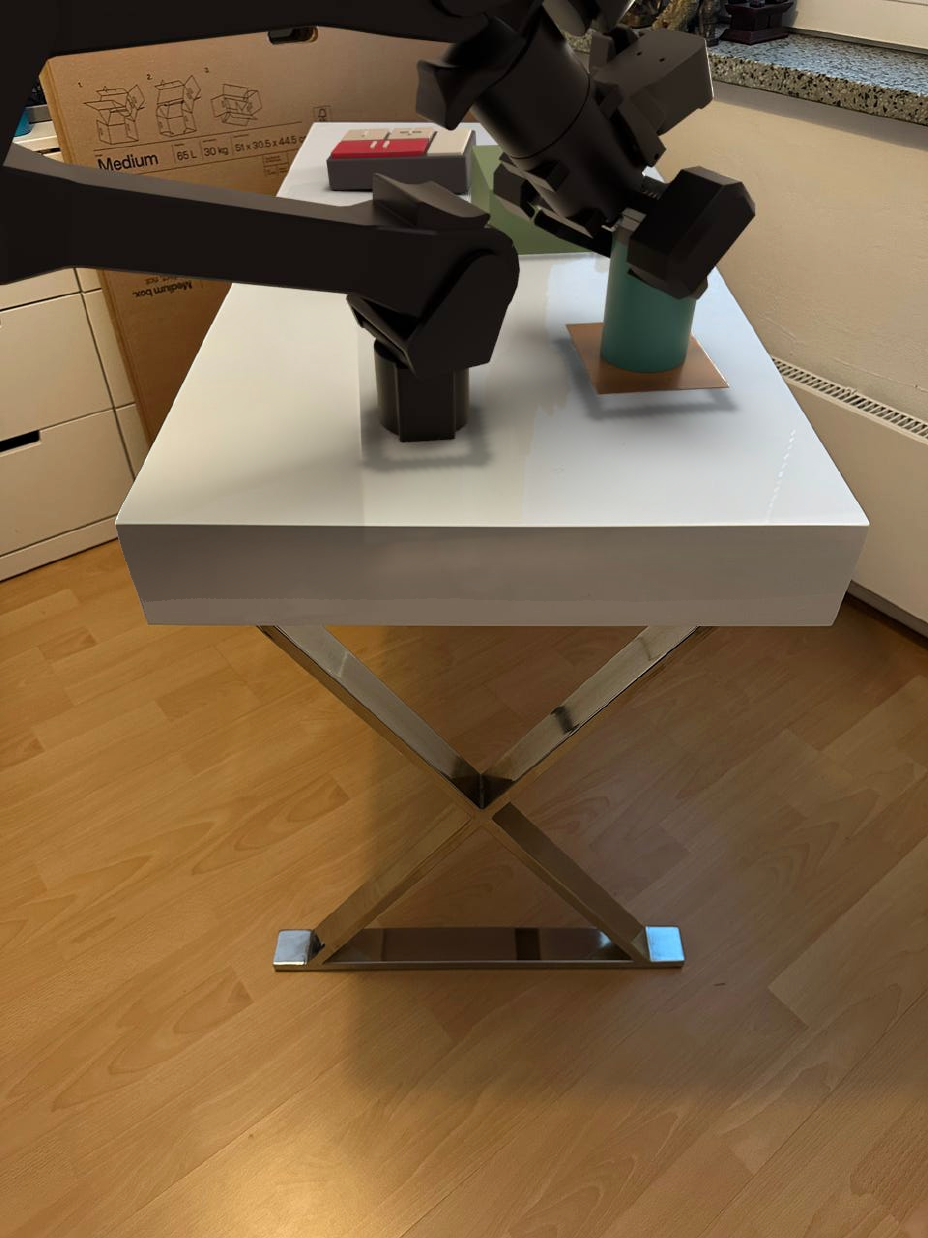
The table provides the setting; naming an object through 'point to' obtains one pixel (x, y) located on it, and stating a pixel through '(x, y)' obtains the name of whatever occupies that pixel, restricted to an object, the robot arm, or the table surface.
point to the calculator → (403, 157)
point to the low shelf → (617, 380)
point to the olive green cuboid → (517, 228)
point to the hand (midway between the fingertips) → (669, 276)
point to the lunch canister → (642, 317)
